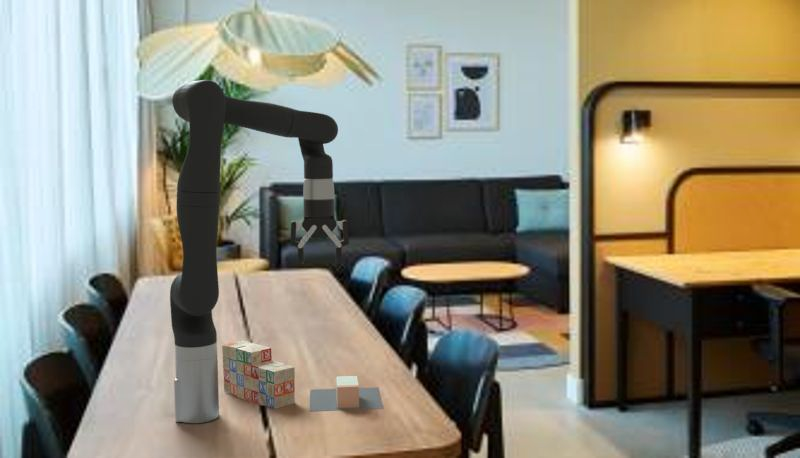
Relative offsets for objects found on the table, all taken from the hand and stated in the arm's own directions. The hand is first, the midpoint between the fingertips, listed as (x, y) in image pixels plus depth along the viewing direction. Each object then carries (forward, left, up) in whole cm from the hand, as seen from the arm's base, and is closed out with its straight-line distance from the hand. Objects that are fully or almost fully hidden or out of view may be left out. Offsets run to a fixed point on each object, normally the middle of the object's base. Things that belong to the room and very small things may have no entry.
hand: (320, 262), depth 208 cm
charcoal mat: (+6, -10, -32) cm, 34 cm away
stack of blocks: (-16, -5, -32) cm, 36 cm away
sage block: (+6, -8, -29) cm, 31 cm away
